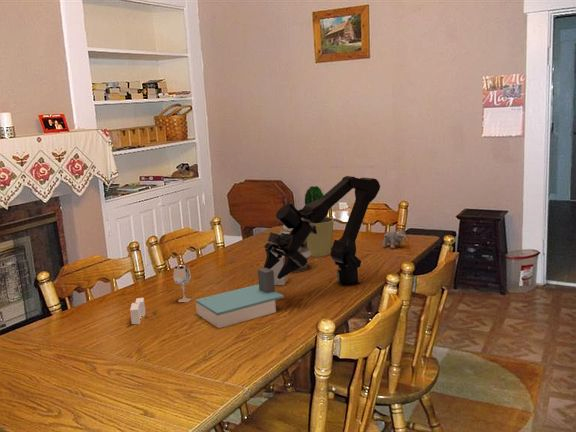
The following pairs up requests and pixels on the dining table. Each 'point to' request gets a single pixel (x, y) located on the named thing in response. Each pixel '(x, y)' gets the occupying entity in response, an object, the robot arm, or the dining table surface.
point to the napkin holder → (137, 310)
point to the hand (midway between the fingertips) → (270, 275)
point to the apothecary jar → (303, 251)
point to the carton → (236, 314)
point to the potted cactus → (319, 228)
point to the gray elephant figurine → (394, 238)
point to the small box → (276, 270)
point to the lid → (243, 295)
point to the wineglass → (182, 279)
